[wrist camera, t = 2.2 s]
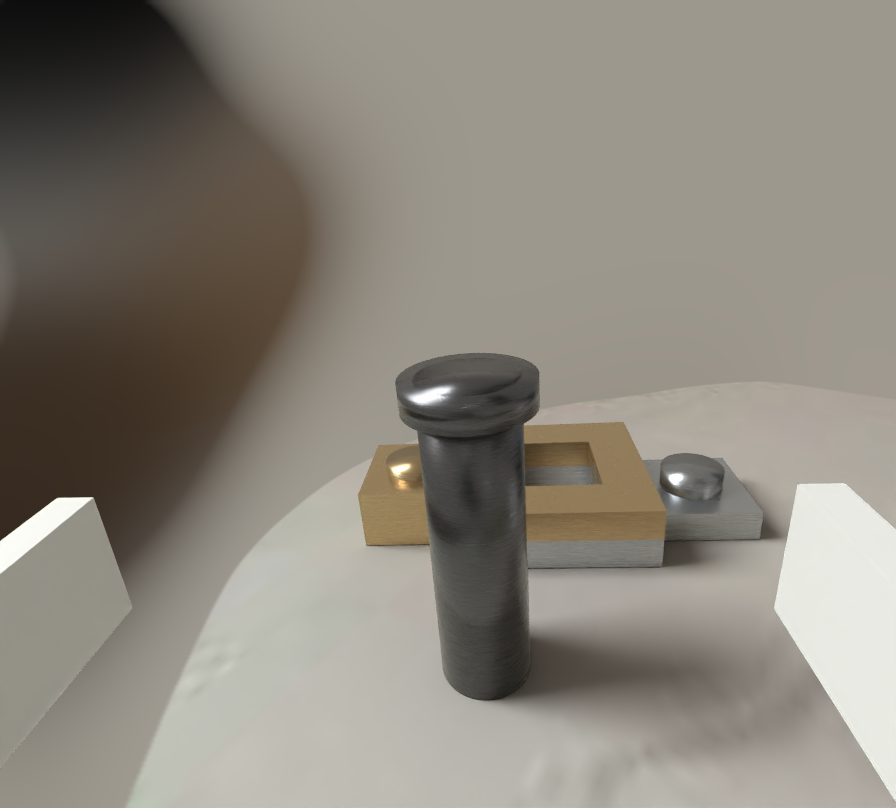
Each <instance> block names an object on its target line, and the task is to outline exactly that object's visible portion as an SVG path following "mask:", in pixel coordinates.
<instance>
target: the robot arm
mask: <svg viewBox="0 0 896 808" xmlns="http://www.w3.org/2000/svg"><path fill="white" fill-rule="evenodd" d="M131 609H132V605H131V602H130V599H129V596H128V594H127V591H126V588H125V585H124V582H123V580H122V577H121V574H120V571H119V568H118V565H117V563H116V560H115V557H114V554H113V551H112V548H111V546H110V543H109V540H108V537H107V535H106V532H105V529H104V526H103V523H102V520H101V518H100V515H99V512H98V509H97V506H96V504H95V501H94V498H57V499H56V500H54V501H53V502H52V503H50V504H49V505H48V506H46V507H45V508H44V509H42V510H41V511H40V512H38V513H37V514H36V515H34V516H33V517H32V518H30V519H29V520H28V521H26V522H25V523H24V524H22V525H21V526H20V527H19V528H17V529H16V530H14V531H13V532H12V533H10V534H9V535H8V536H7V537H5V538H4V539H3V540H1V541H0V768H1V767H2V766H3V764H4V763H5V762H6V761H7V759H8V758H9V757H10V756H11V755H12V754H13V752H14V751H15V750H16V749H17V747H18V746H19V745H20V744H21V743H22V741H23V740H24V739H25V738H26V736H27V735H28V734H29V733H30V732H31V730H32V729H33V728H34V727H35V726H36V724H37V723H38V722H39V721H40V720H41V718H42V717H43V716H44V715H45V713H46V712H47V711H48V710H49V709H50V707H51V706H52V705H53V704H54V702H55V701H56V700H57V699H58V698H59V696H60V695H61V694H62V693H63V692H64V690H65V689H66V688H67V687H68V686H69V684H70V683H71V682H72V681H73V679H74V678H75V677H76V676H77V675H78V673H79V672H80V671H81V670H82V669H83V667H84V666H85V665H86V664H87V662H88V661H89V660H90V659H91V658H92V656H93V655H94V654H95V653H96V651H97V650H98V649H99V648H100V647H101V645H102V644H103V643H104V642H105V641H106V639H107V638H108V637H109V636H110V635H111V633H112V632H113V631H114V630H115V628H116V627H117V626H118V625H119V623H120V622H121V621H122V620H123V618H124V617H125V616H126V615H127V614H128V612H129V611H130V610H131ZM774 609H775V611H776V613H777V614H778V616H779V617H780V619H781V621H782V622H783V624H784V625H785V627H786V628H787V630H788V632H789V633H790V635H791V636H792V638H793V640H794V641H795V643H796V644H797V646H798V647H799V649H800V651H801V652H802V654H803V655H804V657H805V659H806V660H807V662H808V663H809V665H810V667H811V668H812V670H813V671H814V673H815V674H816V676H817V678H818V679H819V681H820V682H821V684H822V686H823V687H824V689H825V690H826V692H827V694H828V695H829V697H830V698H831V700H832V701H833V703H834V705H835V706H836V708H837V709H838V711H839V713H840V714H841V716H842V717H843V719H844V720H845V722H846V724H847V725H848V727H849V728H850V730H851V732H852V733H853V735H854V736H855V738H856V740H857V741H858V743H859V744H860V746H861V747H862V749H863V751H864V752H865V754H866V755H867V757H868V759H869V760H870V762H871V763H872V765H873V767H874V768H875V770H876V771H877V773H878V774H879V776H880V778H881V779H882V781H883V782H884V784H885V786H886V787H887V789H888V790H889V792H890V794H891V795H892V797H893V798H894V800H895V801H896V529H894V528H893V527H892V526H891V525H890V524H889V523H888V522H887V521H886V520H884V519H883V518H882V517H881V516H880V515H879V514H878V513H877V512H876V511H875V510H873V509H872V508H871V507H870V506H869V505H868V504H867V503H866V502H865V501H864V500H862V499H861V498H860V497H859V496H858V495H857V494H856V493H855V492H854V491H853V490H851V489H850V488H849V487H848V486H847V485H846V484H845V483H833V484H798V486H797V491H796V496H795V501H794V507H793V512H792V517H791V522H790V528H789V533H788V538H787V543H786V549H785V554H784V559H783V564H782V570H781V575H780V580H779V585H778V591H777V596H776V601H775V606H774Z"/></svg>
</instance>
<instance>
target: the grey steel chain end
mask: <svg viewBox="0 0 896 808" xmlns="http://www.w3.org/2000/svg"><path fill="white" fill-rule="evenodd" d="M642 461H643V463H644V465H645V467H646V469H647V471H648V473H649V475H650V477H651V479H652V481H653V483H654V486H655V488H656V490H657V492H658V494H659V496H660V498H661V500H662V502H663V504H664V506H665V508H666V510H667V516H666V527H665V539H660V540H597V541H533V542H527V561H528V568H587V567H662V563H663V551H664V541H675V540H739V539H760V533H761V527H762V521H763V515H764V512H763V511H762V510H761V508H760V507H759V506H758V504H757V503H756V502H755V500H754V499H753V498H752V496H751V495H750V494H749V493H748V491H747V490H746V489H745V487H744V486H743V485H742V483H741V482H740V481H739V479H738V478H737V477H736V475H735V474H734V473H733V472H732V470H731V469H730V468H729V466H728V465H727V464H726V462H725V461H724V460H723V458H709V457H706V456H703V455H698V454H690V453H680V454H674V455H670V456H667V457H666V458H664V459H663V460H642ZM557 485H594V483H593V480H592V476H591V473H590V470H589V467H588V466H556V467H525V486H557Z"/></svg>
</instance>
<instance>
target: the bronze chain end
mask: <svg viewBox="0 0 896 808" xmlns="http://www.w3.org/2000/svg"><path fill="white" fill-rule="evenodd" d="M524 453H525V467H556V466H588V467H589V470H590V473H591V476H592V480H593V483H594V485H557V486H525V489H526V525H527V542H533V541H597V540H660V539H665V527H666V516H667V510H666V508H665V506H664V504H663V502H662V500H661V498H660V496H659V494H658V492H657V490H656V488H655V486H654V483H653V481H652V479H651V477H650V475H649V473H648V471H647V469H646V467H645V465H644V463H643V461H642V459H641V457H640V455H639V453H638V451H637V449H636V447H635V445H634V443H633V441H632V439H631V436H630V434H629V432H628V430H627V428H626V426H625V424H624V422H614V423H586V424H559V425H531V426H524ZM358 497H359V503H360V509H361V516H362V522H363V528H364V534H365V540H366V545H418V544H430V543H429V534H428V525H427V515H426V506H425V497H424V488H423V478H422V469H421V460H420V451H419V444H402V445H379V446H378V449H377V451H376V453H375V456H374V458H373V460H372V463H371V465H370V468H369V470H368V473H367V475H366V477H365V480H364V482H363V485H362V487H361V489H360V492H359V494H358Z"/></svg>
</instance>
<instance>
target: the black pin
mask: <svg viewBox="0 0 896 808" xmlns="http://www.w3.org/2000/svg"><path fill="white" fill-rule="evenodd" d="M395 383H396V392H397V400H398V408H399V416H400V418H401V420H402V421H403V422H404V423H405V424H406V425H407V426H409V427H411V428H413V429H415V430H417V432H418V441H419V451H420V460H421V469H422V478H423V488H424V497H425V506H426V515H427V525H428V534H429V543H430V552H431V562H432V571H433V580H434V589H435V599H436V608H437V617H438V626H439V636H440V645H441V654H442V663H443V671H444V674H445V677H446V679H447V681H448V682H449V684H450V685H451V686H452V687H453V688H454V689H455V690H457V691H458V692H459V693H461V694H463V695H465V696H467V697H470V698H473V699H479V700H494V699H499V698H502V697H505V696H508V695H510V694H512V693H513V692H515V691H516V690H517V689H519V688H520V687H521V686H522V685H523V683H524V682H525V681H526V679H527V677H528V674H529V671H530V634H529V598H528V561H527V525H526V489H525V453H524V423H526V422H527V421H529V420H530V419H531V418H533V417H534V416H535V415H536V413H537V412H538V410H539V407H540V398H539V396H540V395H539V371H538V369H537V368H536V366H535V365H533V364H532V363H530V362H528V361H526V360H524V359H521V358H518V357H513V356H509V355H502V354H492V353H468V354H457V355H449V356H443V357H438V358H434V359H430V360H426V361H423V362H420V363H418V364H415V365H413V366H411V367H409V368H407V369H405V370H404V371H403V372H401V373H400V374H399V375H398V377H397V378H396V382H395Z"/></svg>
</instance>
